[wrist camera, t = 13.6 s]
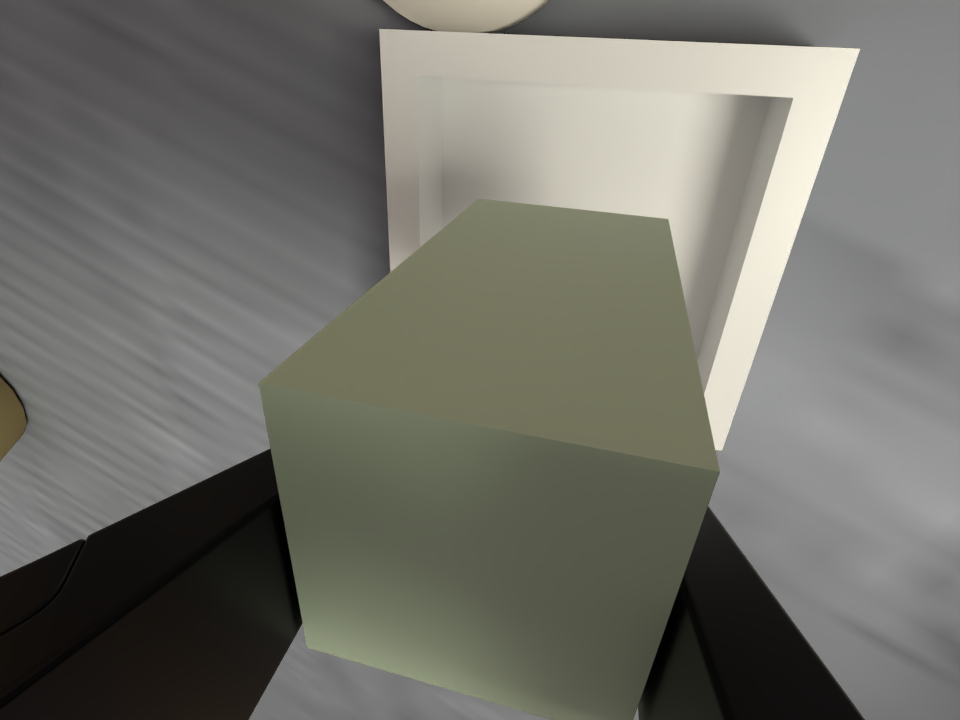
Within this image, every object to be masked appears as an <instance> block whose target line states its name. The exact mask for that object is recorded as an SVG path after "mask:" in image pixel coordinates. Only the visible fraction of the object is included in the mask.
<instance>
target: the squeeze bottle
mask: <svg viewBox="0 0 960 720" xmlns="http://www.w3.org/2000/svg"><path fill="white" fill-rule="evenodd" d="M26 425H27V422H26V418H25V413H24V409H23V407H22V405H21V403H20V402H19V400H18V398H17V397H16V395H15V393H14V392H13V390H12V389H11V388H10V387H9V386H8V385H7V384H6V383H5V382H4V381H3V379H2V378H1V377H0V461H1V460H2V458H3V457H4V456H5V455H6V454H7V453H8V451H9V450H10V449H11V448H12V447H13V446H14V444H15V443H16V442H17V441H18V440H19V438H20V437H21V436H22V435H23V433H24V430H25V427H26Z"/></svg>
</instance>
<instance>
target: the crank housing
mask: <svg viewBox="0 0 960 720" xmlns="http://www.w3.org/2000/svg"><path fill="white" fill-rule="evenodd" d="M383 1H385V2H386V3H387V4H388V5H389V6H390V7H392V8H393V9H394V10H395V11H396V12H398V13H399V14H401V15H402V16H404V17H405V18H407V19H409V20H410V21H412V22H414V23H416V24H419V25H421V26H423V27H425V28H429V29H432V30H436V31H442V32H466V33H494V32H499V31H502V30H504V29H507V28H510V27H513V26H515V25H517V24H518V23H520V22H522V21H524V20H526V19H528V18H529V17H531V16H532V15H533V14H535V13H536V12H537V11H539V10H540V9H542V8H543V7H544V6H545V5H546V4H547V3H548V2H549V1H550V0H383Z"/></svg>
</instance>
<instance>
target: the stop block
mask: <svg viewBox="0 0 960 720" xmlns="http://www.w3.org/2000/svg"><path fill="white" fill-rule="evenodd" d="M259 389H260V394H261V400H262V405H263V410H264V416H265V421H266V427H267V432H268V438H269V443H270V448H271V454H272V459H273V465H274V470H275V476H276V481H277V486H278V492H279V497H280V503H281V508H282V514H283V519H284V524H285V530H286V535H287V541H288V546H289V552H290V557H291V562H292V568H293V573H294V579H295V584H296V590H297V595H298V600H299V606H300V611H301V617H302V622H303V628H304V633H305V638H306V644H307V648H310V649H314V650H317V651H320V652H324V653H327V654H331V655H334V656H337V657H341V658H344V659H348V660H351V661H354V662H358V663H361V664H365V665H368V666H371V667H375V668H378V669H381V670H385V671H388V672H392V673H395V674H398V675H402V676H405V677H409V678H412V679H415V680H419V681H422V682H426V683H429V684H432V685H436V686H439V687H442V688H446V689H449V690H453V691H456V692H459V693H463V694H466V695H470V696H473V697H476V698H480V699H483V700H487V701H490V702H493V703H497V704H500V705H503V706H507V707H510V708H514V709H517V710H520V711H524V712H527V713H531V714H534V715H537V716H541V717H544V718H547V719H551V720H633V719H634V716H635V713H636V710H637V707H638V704H639V701H640V699H641V696H642V693H643V690H644V687H645V684H646V681H647V679H648V676H649V673H650V670H651V667H652V664H653V661H654V659H655V656H656V653H657V650H658V647H659V644H660V641H661V639H662V636H663V633H664V630H665V627H666V624H667V621H668V618H669V616H670V613H671V610H672V607H673V604H674V601H675V598H676V596H677V593H678V590H679V587H680V584H681V581H682V578H683V576H684V573H685V570H686V567H687V564H688V561H689V558H690V556H691V553H692V550H693V547H694V544H695V541H696V538H697V536H698V533H699V530H700V527H701V524H702V521H703V518H704V515H705V513H706V510H707V507H708V504H709V501H710V498H711V495H712V493H713V490H714V487H715V484H716V481H717V478H718V475H719V473H720V471H719V466H718V461H717V456H716V451H715V446H714V441H713V436H712V431H711V427H710V422H709V417H708V412H707V407H706V402H705V397H704V392H703V387H702V382H701V377H700V372H699V368H698V363H697V358H696V353H695V348H694V343H693V338H692V333H691V328H690V323H689V318H688V314H687V309H686V304H685V299H684V294H683V289H682V284H681V279H680V274H679V269H678V264H677V260H676V255H675V250H674V245H673V240H672V235H671V230H670V225H669V220H668V219H664V218H655V217H646V216H637V215H627V214H618V213H609V212H599V211H590V210H581V209H572V208H562V207H553V206H544V205H534V204H525V203H516V202H507V201H497V200H488V199H479V198H478V199H477V200H476V201H475V202H474V203H472V204H471V205H470V206H469V207H468V208H466V209H465V210H464V211H463V212H462V213H460V214H459V215H458V216H457V217H456V218H455V219H453V220H452V221H451V222H450V223H449V224H447V225H446V226H445V227H444V228H443V229H441V230H440V231H439V232H438V233H437V234H435V235H434V236H433V237H432V238H431V239H429V240H428V241H427V242H426V243H425V244H424V245H422V246H421V247H420V248H419V249H418V250H416V251H415V252H414V253H413V254H412V255H410V256H409V257H408V258H407V259H406V260H404V261H403V262H402V263H401V264H400V265H398V266H397V267H396V268H395V269H394V270H392V271H391V272H390V273H389V274H388V275H387V276H385V277H384V278H383V279H382V280H381V281H379V282H378V283H377V284H376V285H375V286H373V287H372V288H371V289H370V290H369V291H367V292H366V293H365V294H364V295H363V296H361V297H360V298H359V299H358V300H357V301H356V302H354V303H353V304H352V305H351V306H350V307H348V308H347V309H346V310H345V311H344V312H342V313H341V314H340V315H339V316H338V317H336V318H335V319H334V320H333V321H332V322H330V323H329V324H328V325H327V326H326V327H325V328H323V329H322V330H321V331H320V332H319V333H317V334H316V335H315V336H314V337H313V338H311V339H310V340H309V341H308V342H307V343H305V344H304V345H303V346H302V347H301V348H299V349H298V350H297V351H296V352H295V353H294V354H292V355H291V356H290V357H289V358H288V359H286V360H285V361H284V362H283V363H282V364H280V365H279V366H278V367H277V368H276V369H274V370H273V371H272V372H271V373H270V374H268V375H267V376H266V377H265V378H264V379H263V380H261V381H260V382H259Z"/></svg>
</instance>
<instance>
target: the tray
mask: <svg viewBox="0 0 960 720" xmlns="http://www.w3.org/2000/svg"><path fill="white" fill-rule="evenodd" d="M379 33H380V55H381V77H382V99H383V121H384V143H385V165H386V187H387V209H388V231H389V253H390V272H391V271H392V270H394V269H395V268H396V267H397V266H398V265H400V264H401V263H402V262H403V261H404V260H406V259H407V258H408V257H409V256H410V255H412V254H413V253H414V252H415V251H416V250H418V249H419V248H420V247H421V246H422V245H424V244H425V243H426V242H427V241H428V240H429V239H431V238H432V237H433V236H434V235H435V234H437V233H438V232H439V231H440V230H441V229H443V228H444V227H445V226H446V225H447V224H449V223H450V222H451V221H452V220H453V219H455V218H456V217H457V216H458V215H459V214H460V213H462V212H463V211H464V210H465V209H466V208H468V207H469V206H470V205H471V204H472V203H474V202H475V201H476V200H477V199H478V198H479V199H488V200H497V201H507V202H516V203H525V204H534V205H544V206H553V207H562V208H572V209H581V210H590V211H599V212H609V213H618V214H627V215H637V216H646V217H655V218H664V219H668V220H669V225H670V230H671V235H672V240H673V245H674V250H675V255H676V260H677V264H678V269H679V274H680V279H681V284H682V289H683V294H684V299H685V304H686V309H687V314H688V318H689V323H690V328H691V333H692V338H693V343H694V348H695V353H696V358H697V363H698V368H699V372H700V377H701V382H702V387H703V392H704V397H705V402H706V407H707V412H708V417H709V422H710V427H711V431H712V436H713V441H714V446H715V450H721V451H722V449H723V446H724V443H725V440H726V437H727V434H728V431H729V429H730V426H731V423H732V420H733V417H734V414H735V411H736V408H737V405H738V402H739V399H740V397H741V394H742V391H743V388H744V385H745V382H746V379H747V376H748V373H749V370H750V367H751V365H752V362H753V359H754V356H755V353H756V350H757V347H758V344H759V341H760V338H761V335H762V333H763V330H764V327H765V324H766V321H767V318H768V315H769V312H770V309H771V306H772V303H773V301H774V298H775V295H776V292H777V289H778V286H779V283H780V280H781V277H782V274H783V271H784V269H785V266H786V263H787V260H788V257H789V254H790V251H791V248H792V245H793V242H794V239H795V237H796V234H797V231H798V228H799V225H800V222H801V219H802V216H803V213H804V210H805V207H806V205H807V202H808V199H809V196H810V193H811V190H812V187H813V184H814V181H815V178H816V175H817V173H818V170H819V167H820V164H821V161H822V158H823V155H824V152H825V149H826V146H827V143H828V141H829V138H830V135H831V132H832V129H833V126H834V123H835V120H836V117H837V114H838V111H839V108H840V106H841V103H842V100H843V97H844V94H845V91H846V88H847V85H848V82H849V79H850V76H851V74H852V71H853V68H854V65H855V62H856V59H857V56H858V53H859V50H860V49H852V48H828V47H804V46H779V45H755V44H731V43H707V42H683V41H659V40H635V39H611V38H587V37H562V36H538V35H514V34H490V33H466V32H442V31H418V30H394V29H379Z"/></svg>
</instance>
